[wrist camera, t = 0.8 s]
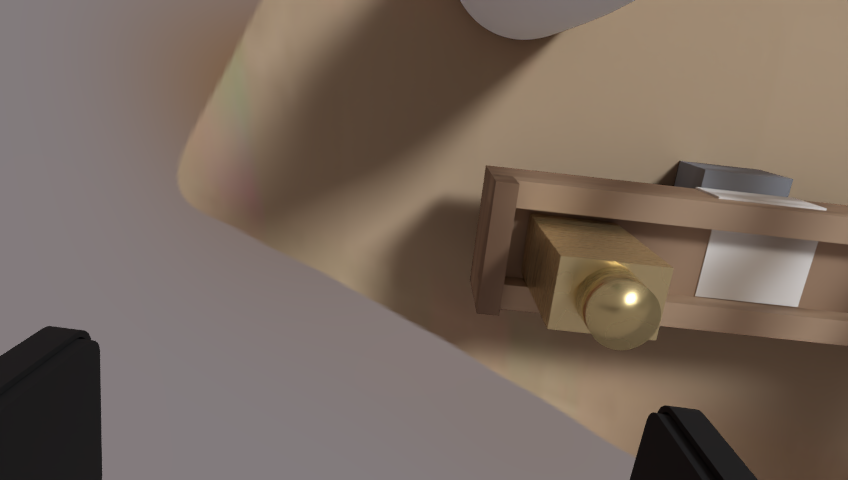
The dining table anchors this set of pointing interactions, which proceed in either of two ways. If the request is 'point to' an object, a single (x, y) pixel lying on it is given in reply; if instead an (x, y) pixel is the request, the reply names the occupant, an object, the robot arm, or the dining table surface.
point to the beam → (687, 246)
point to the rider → (595, 280)
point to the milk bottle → (537, 15)
